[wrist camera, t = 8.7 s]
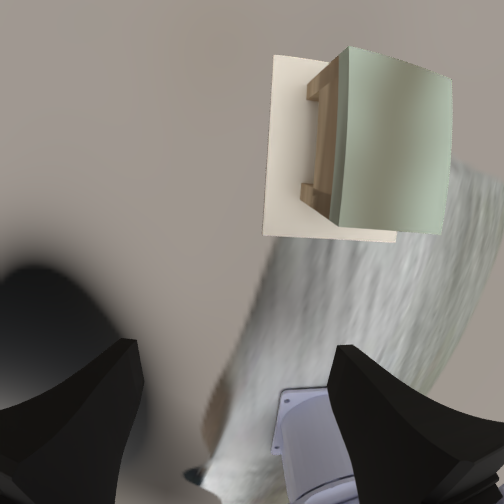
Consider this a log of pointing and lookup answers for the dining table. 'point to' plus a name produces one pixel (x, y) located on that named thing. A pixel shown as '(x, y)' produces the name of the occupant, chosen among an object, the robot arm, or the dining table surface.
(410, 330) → the dining table surface
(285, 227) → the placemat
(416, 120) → the board with wooden rails
